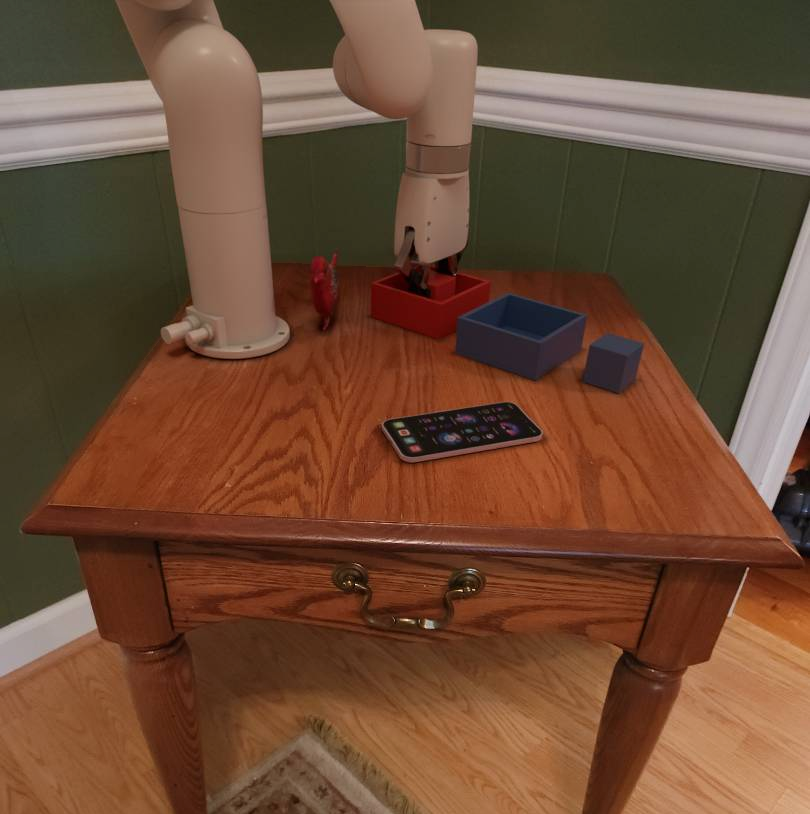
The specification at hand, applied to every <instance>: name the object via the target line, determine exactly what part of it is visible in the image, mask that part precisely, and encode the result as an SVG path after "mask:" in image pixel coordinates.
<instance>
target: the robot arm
mask: <svg viewBox="0 0 810 814" xmlns="http://www.w3.org/2000/svg"><path fill="white" fill-rule="evenodd" d="M114 1H115V4H116V5H117V8H118V10H119V12H120V15H121V17H122V19H123V21H124V24H125V26H126V28H127V31H128V33H129V35H130V38H131V40H132V42H133V44H134V46H135V48H136V51H137V54H138V56H139V58H140V61H141V63H142V65H143V67H144V69H145V72H146V74H147V76H148V78H149V81H150V83H151V84H152V85H151V86H152V87H153V89H154V90H155V93H156V94H157V96H158V98H159V99H160V100H161V102H162V106H163V109H164V110H163V111H164V117H165V124H166V125H165V126H166V131H167V132H166V133H167V140H168V148H169V149H168V150H169V157H170V165H171V172H172V179H173V187H174V193H175V199H176V205H177V211H178V218H179V223H180V230H181V236H182V242H183V249H184V257H185V263H186V268H187V269H186V270H187V275H188V281H189V289H190V295H191V301H192V305H189V306H187V307H185V315H186V316H184V317H182V319H181V321H180V322H175V323H172V324H168V325H166V326H163V327H161V328H160V336H161V339H162V341H163V342H164V343H165V344H167V345H171V344H174V343H177V342H179V341H182V340H183V339H184V342H185V344H186V346H187V347H188V349H190V350H191V351H193V352H195V353H196V354H199V355H202V356H205V357H209V358H214V359H221V360H222V359H223V360H236V359H237V360H242V359H243V360H244V359H250V358H256V357H261V356H265V355H268V354H272V353H273V352H276V351H279V349H281V348H283V347H285V345H286V344H287V343H288V342H289V340H290V337H291V332H290V330H291V329H290V325H289V324H288V323H287V322H286V321H285V320H284V319H283V318H281V317H279V316H277V315H276V304H275V291H274V278H273V268H272V267H273V266H272V257H271V256H272V255H271V245H270V232H269V231H270V230H269V221H268V208H267V200H266V199H267V197H266V186H265V185H266V184H265V174H264V156H263V155H264V153H263V133H264V131H263V129H264V127H263V126H264V125H263V123H264V111H263V110H264V108H263V106H264V105H263V104H264V103H263V92H262V86H261V81H260V78H259V74H258V70H257V67H256V65H255V63H254V61H253V58H252V57H251V55H250V53H249V52H248V51H247V49H246V47H244V45H243V43H241V42H240V41H239V40H238V38H237V37H235V36H234V35H233V34H232V33H230V31H228V30H226V29H225V28H224V26H223V24H222V21H221V18H220V15H219V12H218V10H217V7H216V4H215V1H214V0H114ZM329 2H330V4H331V6H332V8H333V10H334V12H335V14H336V16H337V18H338V21H339V23H340V25H341V27H342V31H343V32H344V36H343V37H342V38H341V39H340V41H339V42H338V43H337V46H336V48H335V50H334V53H333V59H332V72H333V76H334V80H335V82H336V85H337V87H338V88H339V90H340V92H341V93H342V95H344V96H345V97H346V98H347V99H348V100H349V101H351V102H352V103H353V104H355V105H356V106H359V107H361V108H364V109H365V110H368V111H370V112H373V113H375V114H377V115H378V116H381V117H384V118H387V119H390V120H402V119H406V132H405V133H406V137H405V139H406V140H405V172H403V173H402V174H401V175H402V176H401V178H400V184H399V188H398V189H399V190H398V194H397V201H396V209H395V210H396V211H395V223H394V236H393V237H394V239H393V251H394V252H393V253H394V257H395V258H396V259H395V262H394V264H393V268H394V270H395V271H396V273H398V272H399V273H400V274H401V275H402V276H403V278H404V279H405V283H406V285H408V292H409V293H412V294H415V295H418V296H422V297H425V298H428V299H430V291H431V288H428V287H427V286H428V281H429V275H430V269H431V265H433V264H434V266H435V268H436V272H438V273H441V274H445V275H448V276H453V277H455V276H456V275H457V272H459V271H458V265H459V263H460V261H461V259H462V256H463V254H464V253H465V251H466V249H467V248H468V246H469V240H468V235H469V225H470V224H469V223H470V175H469V174H470V162H471V161H470V160H471V147H472V135H473V120H474V106H475V94H476V84H477V83H476V82H477V68H478V57H479V55H478V52H479V51H478V50H479V48H478V47H479V46H478V43H477V40H476V37H475V36H474V35H473V34H472V33H470V32H467V31H464V30H458V29H457V30H456V29H441V28H440V29H439V28H437V29H435V28H434V29H433V28H431V29H425V28H424V25H423V22H422V19H421V16H420V12H419V9H418V5H417V3H416V0H329ZM416 266H419V267H422V270H421V275H420V274H419V273H418V271H417V270H416Z"/></svg>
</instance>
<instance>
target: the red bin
mask: <svg viewBox="0 0 810 814" xmlns="http://www.w3.org/2000/svg"><path fill="white" fill-rule="evenodd" d="M416 270H417V271H418V273H419V274H420V273H421V270H422V267H419V266H416ZM430 270H431V271H434V272H436V268H435V264H431V269H430ZM452 277H453V276H452ZM455 278H456V285H455V296H453V297H450V298H448V299H446V300H444V301H442V302H438V301H435V300H431V299H428V298H425V297H422V296H418V295H415V294H412V293H409V292H407V288H408V285H406V283H405V279H404V278H403V276H402V275H401V274H400V273H399V272H395V273H393V274H390V275H387V276H385V277H383V278H380V279H377V280H374V281H372V282H370V317H371V318H373V319H376V320H379V321H382V322H385V323H387V324H391V325H394V326H397V327H401V328H403V329H407V330H409V331H412V332H415V333H418V334H421V335H424V336H427V337H430V338H433V339H435V340H441V339H444V338H446V337H447V336H450V335H451V334H453V333H455V332H457V322H458V317H460V316H461V315H463V314H466V313H468V312H470V311H472V310H474V309H476V308H478V307H480V306H482V305H484V304H486V303H488V302H490V295H491V287H492V281H490V280H488V279H483V278H480V277H478V276H477V277H476V276H473V275H470V274H466V273H462V272H459V271H458V272H457V275H456V276H455Z"/></svg>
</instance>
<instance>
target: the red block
mask: <svg viewBox="0 0 810 814" xmlns="http://www.w3.org/2000/svg"><path fill="white" fill-rule="evenodd" d="M420 275H421V273H420ZM455 285H456V278H455V277H452V276H448V275H445V274H441V273H438V272H434V271H431V270H430V275H429V281H428V286H427V287H428V288H431V291H430V299H431V300H435V301H438V302H442V301H444V300H446V299H448V298H450V297H453V296H455ZM407 292H408V288H407Z"/></svg>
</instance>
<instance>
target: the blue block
mask: <svg viewBox="0 0 810 814" xmlns="http://www.w3.org/2000/svg"><path fill="white" fill-rule="evenodd" d="M588 346H589V347H588V351H587V356H586V361H585V367H584V370H583V371H584V372H583V377H582V382H583V383H585V384H587V385H591V386H593V387H596V388H600V389H603V390H606V391H609V392H612V393H615V394H620V393H621V392H623V391H624V390H625V389H626V388H627V387H629V386H630V385H631V384H633V383H635V381H636V379H637V374H638V370H639V367H640V363H641V359H642V354H643V352H644V351H643V350H644V348H645V347H644V346H645V343H644V342H640V341H637V340H634V339H630V338H627V337H624V336H621V335H617V334H613V333H610V332H606V333H605V334H603V335H602V336H600V337H599V338H598V339H596V340H594V341H593V342H591V343H590V344H589V345H588Z"/></svg>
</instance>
